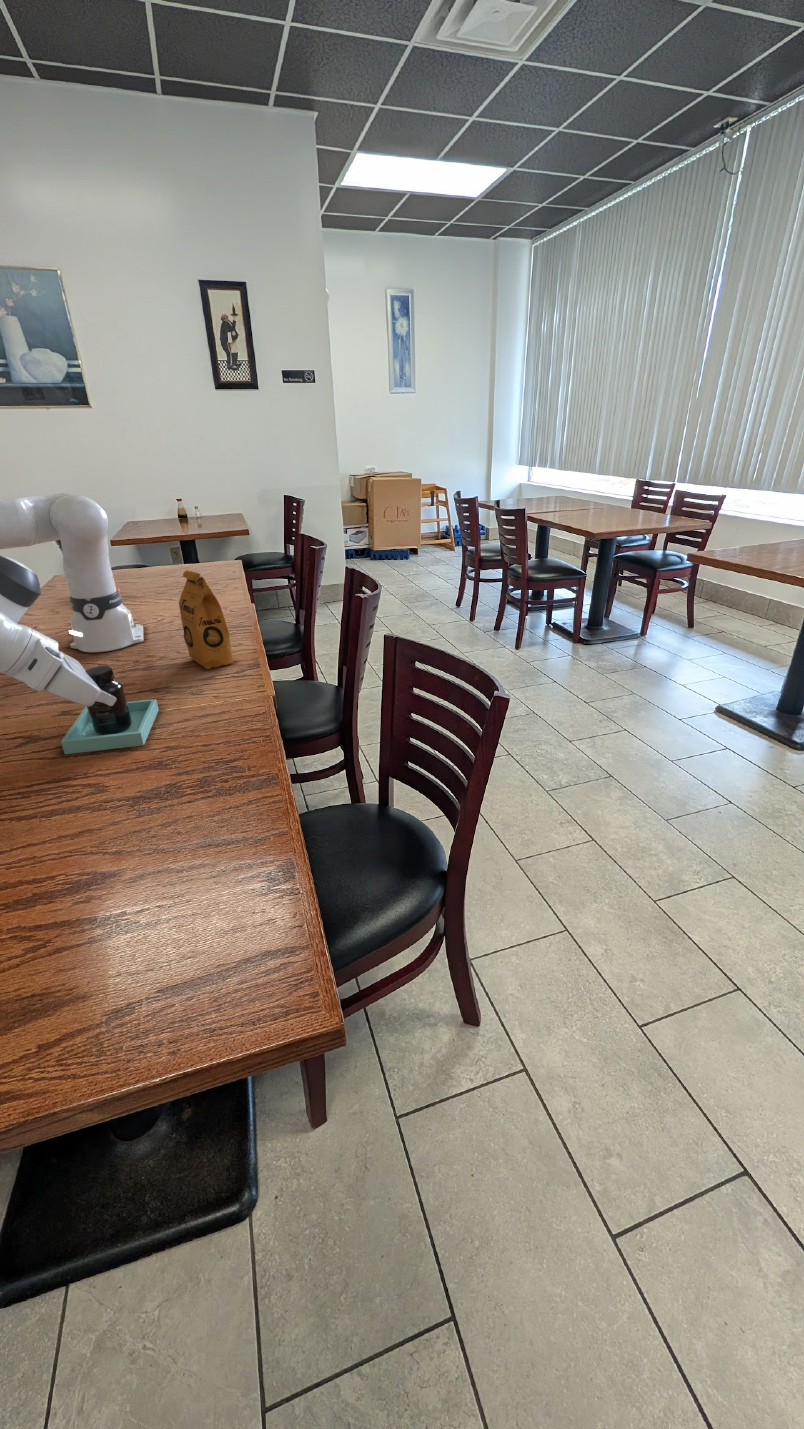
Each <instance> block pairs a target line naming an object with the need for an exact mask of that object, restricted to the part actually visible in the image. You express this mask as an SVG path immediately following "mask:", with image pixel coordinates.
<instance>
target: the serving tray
mask: <svg viewBox="0 0 804 1429" xmlns="http://www.w3.org/2000/svg"><path fill="white" fill-rule="evenodd" d="M127 704H128V708H129V712H130V716H131V720H132V724H131V726H130V727H129V728H128V729H126V730H124V731H122V732H119V733H116V734H111V735H101V734H98V733H96V732H95V731H94V728H93V725H92V722H91V718H90V715H89V712H88V708H87V706H84V708H83V710H82V711H81V712H80V714H79V715H78V717H77V718H76V720H75V721H74V722H73V724H72V725H71V727H70V728H69V729H68V731H67V732H66V734H65V735H64V736H63V738H62V739H61V741H60V744H61V747H62V750H63V753H64V755H73V754H80V753H89V752H98V751H107V750H115V749H124V748H133V747H141V746H142V747H143V746H145V743H146V741H147V739H148V736H149V734H150V731H151V730H152V728H153V724H154V722H155V720H156V718H157V715H158V712H159V711H160V710H159V705H158V701H157V698H152V699H151V698H150V699H143V700H142V699H141V700H132V701H127Z"/></svg>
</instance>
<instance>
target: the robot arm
mask: <svg viewBox="0 0 804 1429" xmlns="http://www.w3.org/2000/svg"><path fill="white" fill-rule="evenodd" d="M108 530H109V519H108V514H107V513H106V511H105V510H104V509H103V508H102V506H100V505H99V503H98V502H96V501H95V500H94V499H91V498H90V497H87V496H84V495H78V494H71V493H66V492H65V493H48V494H40V495H39V494H37V495H28V496H20V497H19V496H18V497H11V498H9V497H8V498H0V550H7V549H16V548H25V547H31V546H34V545H39V544H45V543H49V542H56V541H60V545H61V553H62V554H61V555H62V569H63V570H62V571H63V574H64V576H65V577H64V578H65V580H66V584H67V588H68V591H69V594H70V596H69V603H70V606H71V608H72V611H74V612H73V614H72V615H71V616H70V617H69V621H70V627H71V630H70V629H69V630H68V632H69V634H70V635H72V636H73V642H71V643H69V645H70V646H69V647H70V648H71V649H75V650H79V651H81V652H83V653H104V652H110V651H116V650H120V649H124V648H126V647H129V646H132V645H135V644H139V643H142V642H144V640H145V639H144V637H145V636H144V634H145V633H144V626H143V624H139V623H135V622H134V618H133V615H132V611H130V609H129V608H128V607H126V606H125V605H124V604H123V600H122V596H121V590H120V588H119V587H116V583H115V579H114V575H113V571H112V567H111V560H110V551H109V550H110V549H109V537H108ZM40 584H41V583H40V580H39V577H38V575H37V574H36V573H35V572H34V571H33V570H32V569H31V568H30V567H28V566H27V565H26V564H24V563H23V562H21V561H19V560H16V559H15V558H12V557H8V556H6V555H0V673H2V674H4V675H6V676H9V677H11V678H13V679H15V680H17V681H19V682H21V683H24V685H26V686H27V687H28V688H30V689H32V690H34V691H36V692H39V693H42V692H43V691H46V692H48V693H50V694H52V695H54V696H57V697H59V698H62V699H64V700H67V701H70V702H72V703H75V704H77V705H80V706H83V707H86V706H92V705H93V704H94V702H95V701H97V702H102V703H105V704H107V705H109V706H113V705H114V703H115V702H116V700H117V699H116V698H115V696H114V695H112V694H110V693H108V692H104V691H102V690H101V689H100V688H99V687H98V686H97V684H96V683H95V682H94V681H93V679H92V678H91V677H90V676H89V675H88V674H87V673H86V672H85V671H86V669H85V668H84V667H83V665H82V664H81V662H80V661H78V660H77V659H75V658H74V657H72V656H69V654H66V653H64V652H63V651H60V650H59V642H58V641H57V640H55V639H53V638H52V637H49V636H47V635H45V634H44V633H42V632H39V631H37V630H36V629H34V628H32V627H30V626H27V625H23V624H20V623H19V622H20V621H21V620H22V618H23V617H24V615H25V614H26V612H27V611H28V609H29V608H30V607H31V606H32V605H33V604H34V603H35V602H36V601H37V599H39V597H40V596H41V594H42V590H41V585H40Z"/></svg>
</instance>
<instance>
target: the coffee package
mask: <svg viewBox="0 0 804 1429" xmlns="http://www.w3.org/2000/svg"><path fill="white" fill-rule="evenodd" d="M182 576H183V578H185V579H186V581H185V584H184V586H183V589H182V592H181V595H180V598H179V600H178V608H179V612H180V618H181V625H182V629H183V639H184V642H185V644H186V647H187V651H188V655H189V657H190V658H191V659H192V660H193V661H194V662H196V663H197V664H198V665H199V666H202V667H203V668H204V669H205V670H210V669H212V668H220V667H222V666H224V667H225V666H228V665H232V664H234V656H233V650H232V645H231V638H230V636H231V635H230V631H229V626H228V623H227V619H226V617H225V615H224V612H223V610H222V606H221V604H220V602H219V600H218V598H217V597H216V595H215V593H214V592H213V590H212V589H211V588H210V586H209V585H208V583H207V581H206V579H205V577H203V575H202V574H201V573H199V572H196V571H192V570H189V569H186V570H185V571H183V574H182Z"/></svg>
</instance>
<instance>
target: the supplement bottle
mask: <svg viewBox="0 0 804 1429" xmlns="http://www.w3.org/2000/svg"><path fill="white" fill-rule="evenodd" d="M85 672H86V673H87V674H88V675H89V676H90V677H91V678H92V679H93V681H94V682H95V683H96V684H97V686H98V687H99V688H100V689H101V690H102V691H104V692H108V693H110V694H112V695H114V696H115V698H116V699H117V700H116V702H115V703H114V705H113V706H109V705H107V704H105V703H102V702H97V701H95V702H94V704H93V705H92V706H87V708H88V712H89V715H90V718H91V722H92V725H93V728H94V731H95V732H96V733H98V734H101V735H111V734H116V733H119V732H122V731H124V730H126V729H128V728H129V727H130V726H131V724H132V720H131V716H130V712H129V708H128V704H127V702H128V701H127V697H126V692H125V689H124V686H123V683H122V682H121V681H119V680H118V679H115V673H114V671H113V668H112V666H109V665H99V666H94V667H90V668H88V669H85Z"/></svg>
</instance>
